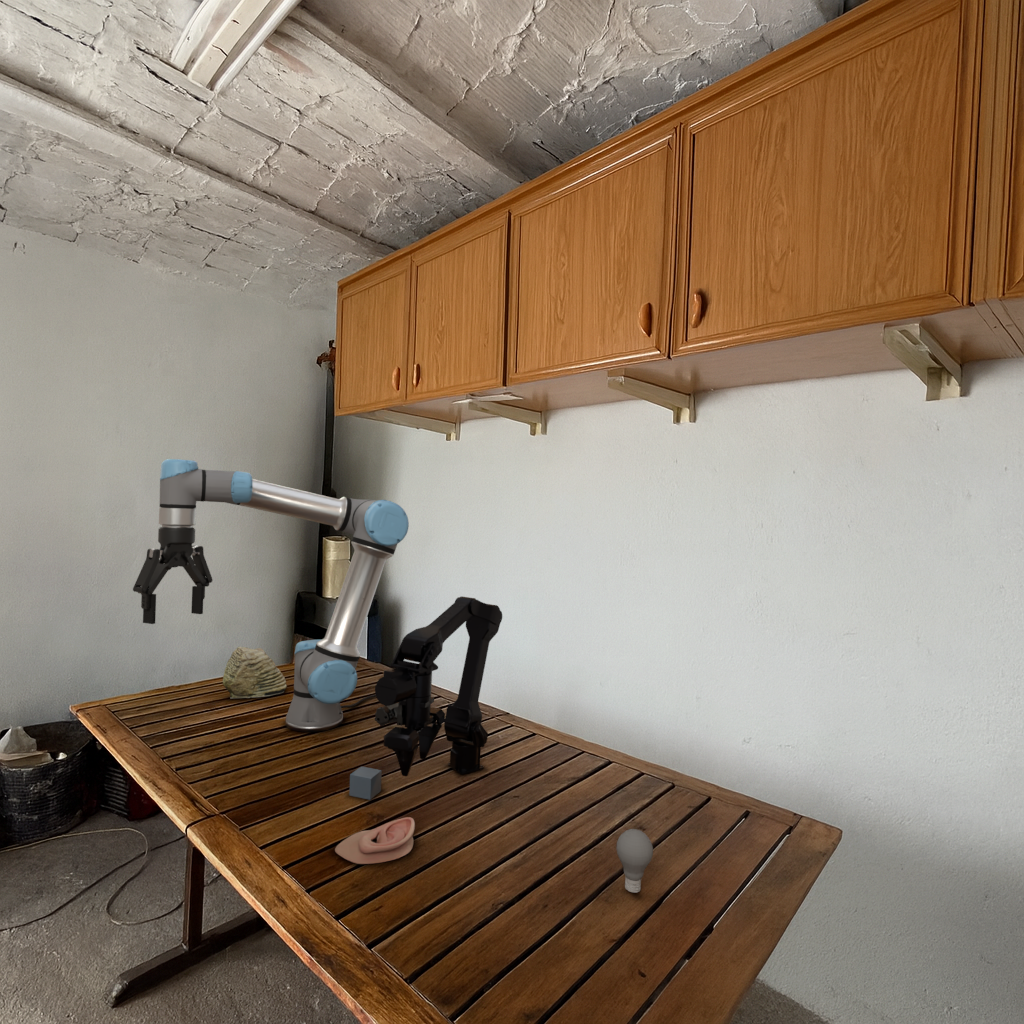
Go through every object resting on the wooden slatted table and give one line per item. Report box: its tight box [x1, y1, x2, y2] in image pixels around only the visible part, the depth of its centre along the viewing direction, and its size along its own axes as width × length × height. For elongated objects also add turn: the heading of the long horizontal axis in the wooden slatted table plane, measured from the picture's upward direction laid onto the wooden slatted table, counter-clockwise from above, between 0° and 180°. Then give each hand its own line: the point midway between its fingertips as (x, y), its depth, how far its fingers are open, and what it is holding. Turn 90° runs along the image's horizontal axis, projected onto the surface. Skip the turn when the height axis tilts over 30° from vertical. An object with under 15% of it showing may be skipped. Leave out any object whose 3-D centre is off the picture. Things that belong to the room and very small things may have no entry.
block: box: [348, 765, 383, 801], centre depth 136 cm, size 4×5×5 cm
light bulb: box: [615, 828, 654, 894], centre depth 106 cm, size 6×6×10 cm
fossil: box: [222, 646, 288, 699], centre depth 198 cm, size 9×18×15 cm, turn 132°
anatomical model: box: [334, 816, 416, 865], centre depth 115 cm, size 13×4×12 cm
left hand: (174, 618), depth 146 cm, fingers open, 13 cm apart
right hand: (414, 767), depth 134 cm, fingers open, 9 cm apart
